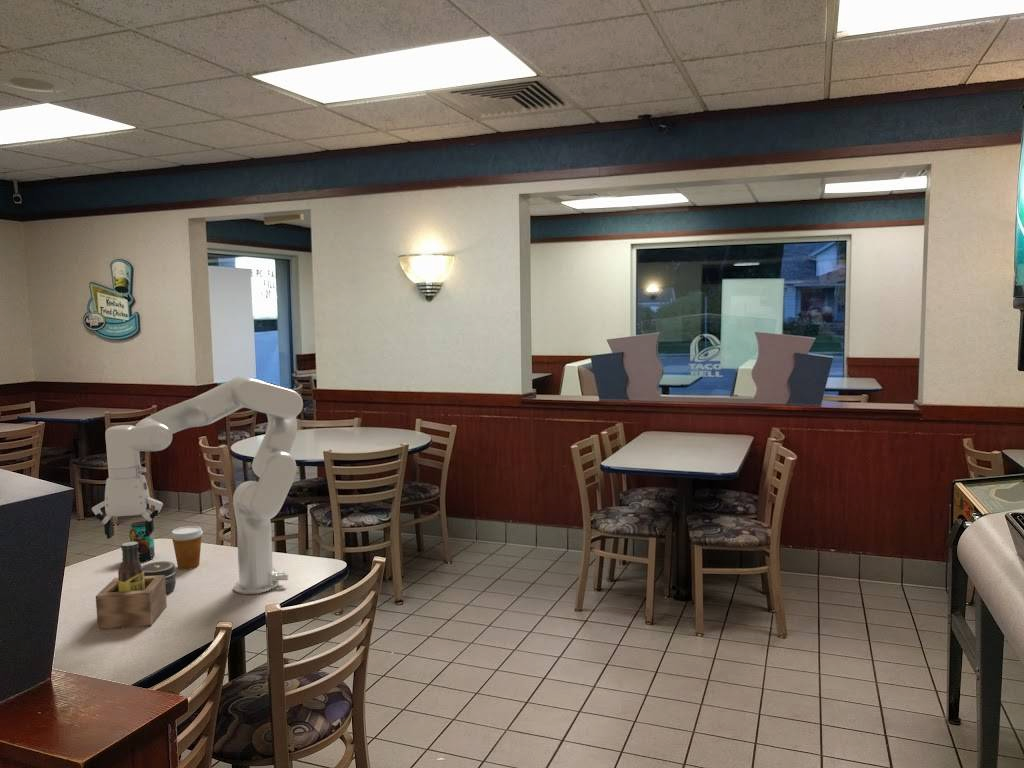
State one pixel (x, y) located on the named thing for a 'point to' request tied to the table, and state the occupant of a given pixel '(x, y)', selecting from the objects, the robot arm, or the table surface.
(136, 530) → the beverage can
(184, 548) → the disposable coffee cup
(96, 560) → the table surface
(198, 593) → the table surface
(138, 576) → the sauce bottle
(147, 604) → the walnut box
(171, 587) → the jar
